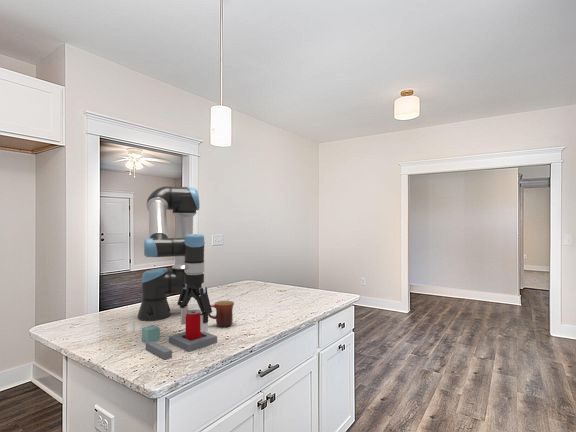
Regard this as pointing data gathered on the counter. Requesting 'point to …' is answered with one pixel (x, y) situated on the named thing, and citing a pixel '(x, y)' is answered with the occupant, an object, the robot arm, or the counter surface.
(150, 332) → the teal cube block
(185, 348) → the grey flat pieces
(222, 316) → the mug
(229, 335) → the counter surface
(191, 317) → the beverage can
